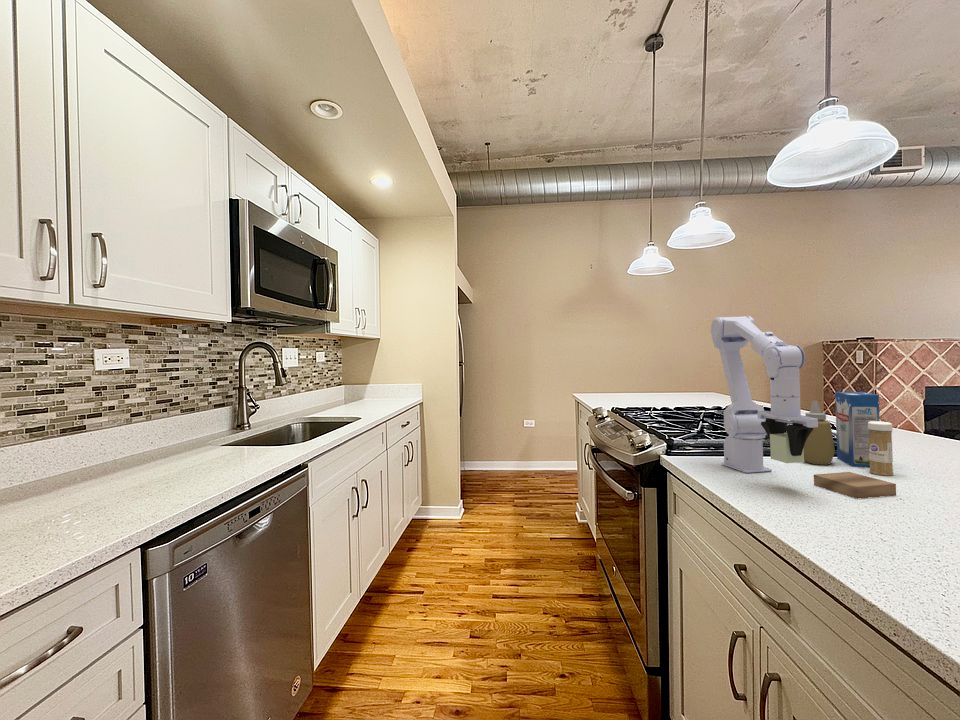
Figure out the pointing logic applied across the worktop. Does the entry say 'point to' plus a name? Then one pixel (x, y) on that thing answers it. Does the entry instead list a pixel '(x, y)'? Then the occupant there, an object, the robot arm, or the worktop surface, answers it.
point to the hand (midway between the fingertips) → (786, 453)
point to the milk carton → (855, 426)
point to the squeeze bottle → (819, 439)
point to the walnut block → (855, 485)
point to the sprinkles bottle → (880, 448)
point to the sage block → (783, 449)
